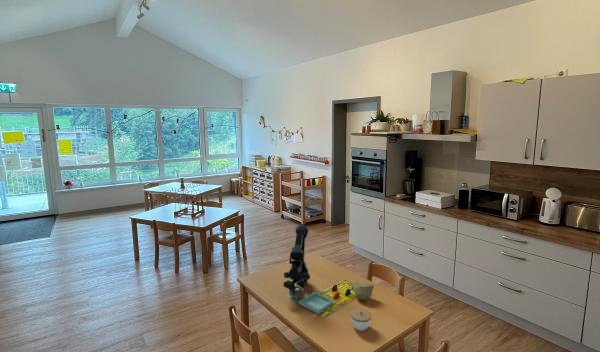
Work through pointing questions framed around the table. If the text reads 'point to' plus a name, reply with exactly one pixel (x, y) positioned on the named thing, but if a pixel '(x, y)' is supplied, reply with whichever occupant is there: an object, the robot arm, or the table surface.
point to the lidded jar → (360, 319)
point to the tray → (316, 302)
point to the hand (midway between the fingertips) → (297, 292)
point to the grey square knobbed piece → (295, 298)
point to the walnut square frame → (298, 292)
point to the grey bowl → (362, 290)
